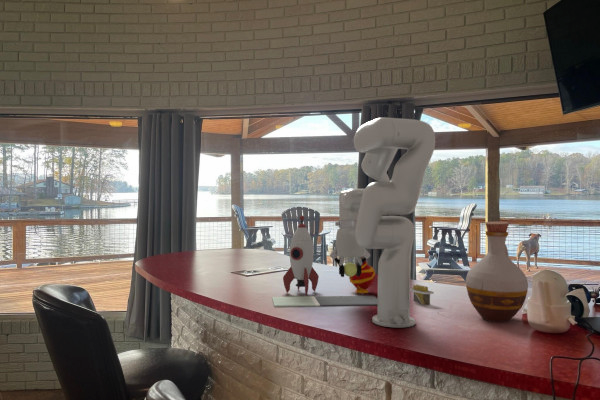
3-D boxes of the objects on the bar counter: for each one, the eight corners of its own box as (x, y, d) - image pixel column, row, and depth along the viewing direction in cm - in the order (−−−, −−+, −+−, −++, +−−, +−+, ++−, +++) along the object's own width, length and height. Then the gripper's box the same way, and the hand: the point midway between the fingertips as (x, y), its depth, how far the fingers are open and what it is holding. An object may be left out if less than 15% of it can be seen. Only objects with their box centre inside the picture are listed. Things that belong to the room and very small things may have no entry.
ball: (358, 277, 169) (358, 263, 169) (344, 277, 168) (344, 263, 168) (355, 275, 174) (355, 261, 174) (341, 275, 173) (341, 261, 173)
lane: (384, 305, 166) (384, 303, 166) (274, 306, 162) (274, 305, 162) (373, 297, 180) (373, 295, 180) (272, 298, 176) (272, 296, 176)
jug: (478, 308, 163) (479, 219, 163) (535, 317, 152) (537, 221, 151) (456, 319, 148) (457, 221, 148) (518, 329, 136) (519, 224, 136)
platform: (425, 311, 160) (426, 291, 160) (389, 301, 175) (390, 283, 175) (451, 307, 166) (451, 288, 166) (414, 298, 181) (414, 280, 181)
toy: (282, 293, 185) (283, 215, 185) (295, 289, 194) (296, 214, 194) (308, 296, 180) (308, 216, 180) (320, 291, 189) (321, 215, 189)
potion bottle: (374, 295, 184) (375, 255, 184) (347, 293, 186) (347, 254, 186) (375, 290, 194) (376, 252, 194) (350, 288, 196) (350, 252, 196)
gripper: (328, 225, 167) (328, 278, 166) (376, 225, 169) (376, 277, 168) (324, 225, 174) (324, 275, 174) (370, 224, 176) (370, 274, 176)
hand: (350, 275), depth 171 cm, fingers closed on ball, 5 cm apart
